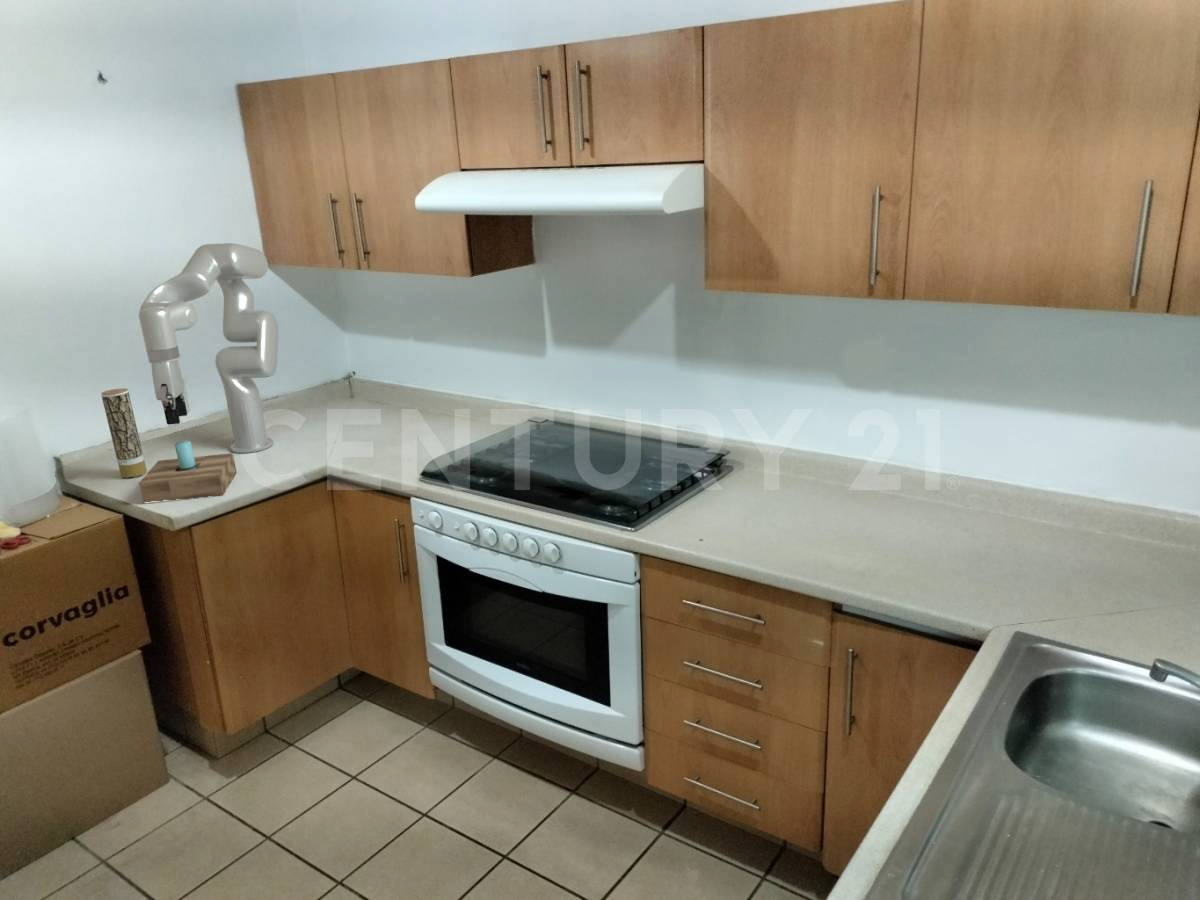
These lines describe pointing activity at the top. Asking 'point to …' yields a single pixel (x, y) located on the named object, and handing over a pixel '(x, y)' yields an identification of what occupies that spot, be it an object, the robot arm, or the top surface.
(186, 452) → the peg
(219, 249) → the robot arm
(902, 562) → the top surface
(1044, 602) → the top surface
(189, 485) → the socket block
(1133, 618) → the top surface
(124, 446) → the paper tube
